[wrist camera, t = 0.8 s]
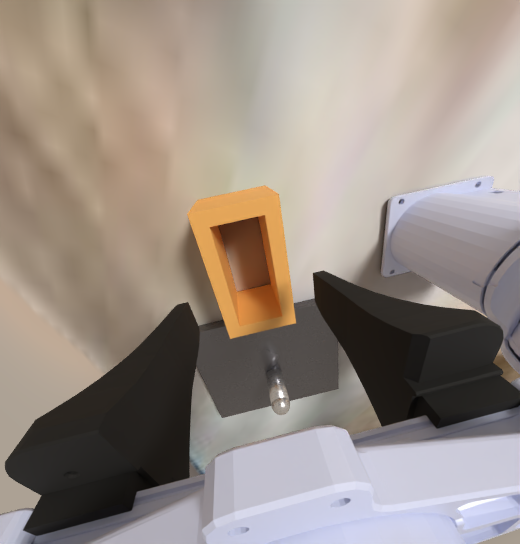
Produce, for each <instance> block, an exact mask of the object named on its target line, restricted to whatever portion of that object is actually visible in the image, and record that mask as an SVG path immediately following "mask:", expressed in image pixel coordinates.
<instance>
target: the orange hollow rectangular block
mask: <svg viewBox="0 0 520 544" xmlns="http://www.w3.org/2000/svg"><path fill="white" fill-rule="evenodd" d="M187 215H188V218H189V221H190V224H191V227H192V230H193V232H194V235H195V238H196V241H197V244H198V247H199V250H200V253H201V256H202V259H203V261H204V264H205V267H206V270H207V273H208V276H209V279H210V282H211V285H212V288H213V291H214V293H215V296H216V299H217V302H218V305H219V308H220V311H221V314H222V317H223V320H224V322H225V325H226V328H227V331H228V334H229V337H230V339H232V338H236V337H240V336H244V335H249V334H253V333H257V332H261V331H265V330H270V329H274V328H278V327H282V326H286V325H290V324H295V323H296V319H295V311H294V304H293V296H292V289H291V281H290V274H289V266H288V259H287V251H286V244H285V236H284V229H283V221H282V214H281V207H280V199H279V194H278V193H276V192H275V191H273V190H271V189H270V188H268V187H267V186H261V187H256V188H251V189H247V190H242V191H237V192H233V193H228V194H223V195H219V196H214V197H209V198H205V199H200V200H197V202H196V203H195V204H194V206H193V207H192V208H191V210H190V211H189V212H188V214H187ZM253 217H258V218H259V224H260V229H261V234H262V240H263V245H264V251H265V256H266V261H267V267H268V272H269V277H270V283H271V284H269V285H264V286H260V287H256V288H252V289H247V290H243V291H239V292H237V290H236V287H235V283H234V280H233V276H232V273H231V269H230V265H229V262H228V258H227V255H226V251H225V248H224V244H223V241H222V237H221V234H220V230H219V227H218V225H221V224H226V223H231V222H235V221H240V220H244V219H249V218H253Z"/></svg>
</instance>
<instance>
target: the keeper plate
mask: <svg viewBox="0 0 520 544" xmlns="http://www.w3.org/2000/svg"><path fill="white" fill-rule="evenodd" d="M294 311H295V319H296V323H295V324H290V325H286V326H282V327H278V328H274V329H270V330H265V331H261V332H257V333H253V334H249V335H244V336H240V337H236V338H232V339H230V337H229V334H228V331H227V328H226V325H225V322H224V320H222V321H218V322H214V323H209V324H205V325H201V326H199V329H200V341H199V351H198V357H197V363H196V366H197V368H198V370H199V372H200V374H201V376H202V378H203V380H204V382H205V384H206V386H207V388H208V390H209V392H210V394H211V396H212V398H213V400H214V402H215V404H216V406H217V408H218V411H219V413H220V415H221V417H222V418H224V417H228V416H232V415H236V414H240V413H244V412H248V411H252V410H256V409H260V408H264V407H268V406H272V409H273V411H274V412H275V413H276V414H279V415H283V414H286V413H287V412H288V410H289V408H290V401H291V400H295V399H299V398H303V397H307V396H311V395H315V394H319V393H323V392H327V391H331V390H335V389H338V340H337V338H336V337H335V335H334V334H333V332H332V331H331V329H330V328H329V326H328V325H327V323H326V322H325V320H324V319H323V317H322V315H321V313H320V311H319V309H318V307H317V305H316V303H315V299H311V300H307V301H303V302H298V303H294Z"/></svg>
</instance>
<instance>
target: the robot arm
mask: <svg viewBox="0 0 520 544" xmlns="http://www.w3.org/2000/svg"><path fill="white" fill-rule="evenodd" d="M493 182H494V177H493V176H484V177H479V178H475V179H470V180H466V181H461V182H456V183H452V184H447V185H443V186H438V187H434V188H429V189H425V190H420V191H416V192H411V193H407V194H402V195H398V196H394V197H391V198H390V199H389V201H388V206H387V216H386V226H385V236H384V246H383V256H382V265H381V275H382V276H383V277H390V276H394V275H398V274H402V273H407V272H411V271H412V272H414V273H416V274H417V275H419V276H421V277H422V278H424V279H426V280H428V281H429V282H431V283H433V284H434V285H436V286H438V287H439V288H441V289H443V290H444V291H446V292H448V293H449V294H451V295H453V296H454V297H456V298H458V299H459V300H461V301H463V302H464V303H466V304H468V305H469V306H471V307H473V308H474V309H476V310H478V311H480V312H481V313H483V314H485V315H486V316H487V318H486V317H485V316H483V315H481V314H480V313H478V312H476V311H474V310H464V309H454V308H444V307H437V306H431V305H424V304H419V303H413V302H409V301H404V300H400V299H396V298H392V297H388V296H385V295H382V294H378V293H375V292H372V291H369V290H367V289H364V288H361V287H359V286H357V285H354V284H352V283H349V282H347V281H345V280H343V279H341V278H339V277H336V276H334V275H332V274H330V273H328V272H325V271H320V272H315V273H313V281H314V295H315V303H316V305H317V307H318V309H319V311H320V313H321V315H322V317H323V319H324V320H325V322H326V323H327V325H328V326H329V328H330V329H331V331H332V332H333V334H334V335H335V337H336V338H337V340H338V341H339V343H340V344H341V346H342V347H343V349H344V350H345V352H346V354H347V356H348V358H349V359H350V361H351V363H352V365H353V367H354V369H355V371H356V373H357V375H358V377H359V379H360V381H361V383H362V385H363V387H364V389H365V391H366V393H367V395H368V397H369V399H370V402H371V404H372V406H373V408H374V410H375V412H376V414H377V417H378V419H379V421H380V423H381V426H382V427H379V428H376V429H372V430H368V431H364V432H360V433H357V434H353V435H349V434H348V432H347V430H345V429H343V428H340V427H337V426H333V425H324V426H315V427H310V428H307V429H303V430H299V431H295V432H291V433H288V434H284V435H280V436H276V437H272V438H269V439H265V440H261V441H257V442H253V443H249V444H246V445H242V446H238V447H234V448H232V449H229V450H227V451H224V452H222V453H220V454H218V455H217V456H216V457H215V458H214V459H213V460H212V461H211V462H210V463H209V464H208V465H207V466H206V469H205V474H202V475H199V476H195V477H191V478H189V447H190V415H191V398H192V387H193V381H194V375H195V369H196V363H197V357H198V351H199V341H200V329H199V326H198V324H197V322H196V319H195V317H194V315H193V312H192V310H191V308H190V305H189V303H188V302H187V303H183V304H178V305H177V306H176V307H175V308H174V309H173V310H172V311H171V312H170V313H169V314H168V315H167V317H166V318H165V319H164V320H163V321H162V322H161V323H160V324H159V326H158V327H157V328H156V329H155V330H154V331H153V332H152V333H151V334H150V335H149V336H148V337H147V338H146V339H145V340H144V341H143V342H142V343H141V344H140V345H139V346H138V347H137V348H136V349H135V350H134V351H133V352H132V353H131V354H130V355H129V356H127V357H126V358H125V359H124V360H123V361H122V362H120V363H119V364H118V365H117V366H115V367H114V368H113V369H111V370H110V371H109V372H108V373H106V374H105V375H104V376H103V377H101V378H100V379H99V380H97V381H96V382H94V383H93V384H91V385H90V386H89V387H87V388H86V389H84V390H83V391H81V392H80V393H78V394H77V395H75V396H74V397H72V398H71V399H69V400H68V401H66V402H64V403H63V404H61V405H59V406H58V407H56V408H55V409H53V410H51V411H50V412H48V413H46V414H45V415H43V416H41V417H40V418H38V419H37V420H35V421H34V423H33V424H32V426H31V427H30V428H29V430H28V431H27V433H26V434H25V435H24V437H23V438H22V439H21V441H20V442H19V444H18V445H17V446H16V448H15V449H14V451H13V452H12V453H11V455H10V456H9V457H8V459H7V460H6V462H5V470H6V472H7V474H8V475H9V477H11V478H12V479H13V480H15V481H16V482H18V483H20V484H22V485H23V486H25V487H27V488H29V489H31V490H33V491H34V492H36V493H38V494H40V495H42V496H41V498H40V500H39V501H38V504H37V505H36V507H35V509H33V508H24V509H18V510H15V511H11V512H7V513H3V514H0V544H477V543H480V542H482V541H485V540H488V539H491V538H493V537H497V536H499V535H502V534H505V533H508V532H510V531H514V530H516V529H519V528H520V378H518V379H515V380H514V381H512V382H511V383H509V382H508V381H507V380H505V379H504V378H503V377H501V376H500V375H502V374H503V371H502V369H500V368H499V367H498V366H496V365H495V364H494V363H493V361H494V359H495V357H496V355H497V353H498V351H499V349H500V348H501V351H502V354H503V356H504V357H505V359H506V360H507V361H508V363H509V364H510V365H511V366H512V367H513V368H514V369H515V370H516V371H517V372H518V373H519V374H520V191H514V190H504V189H495V188H492V185H493ZM400 199H401V202H400V203H399V200H400ZM391 270H392V271H391ZM390 271H391V272H390Z"/></svg>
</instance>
